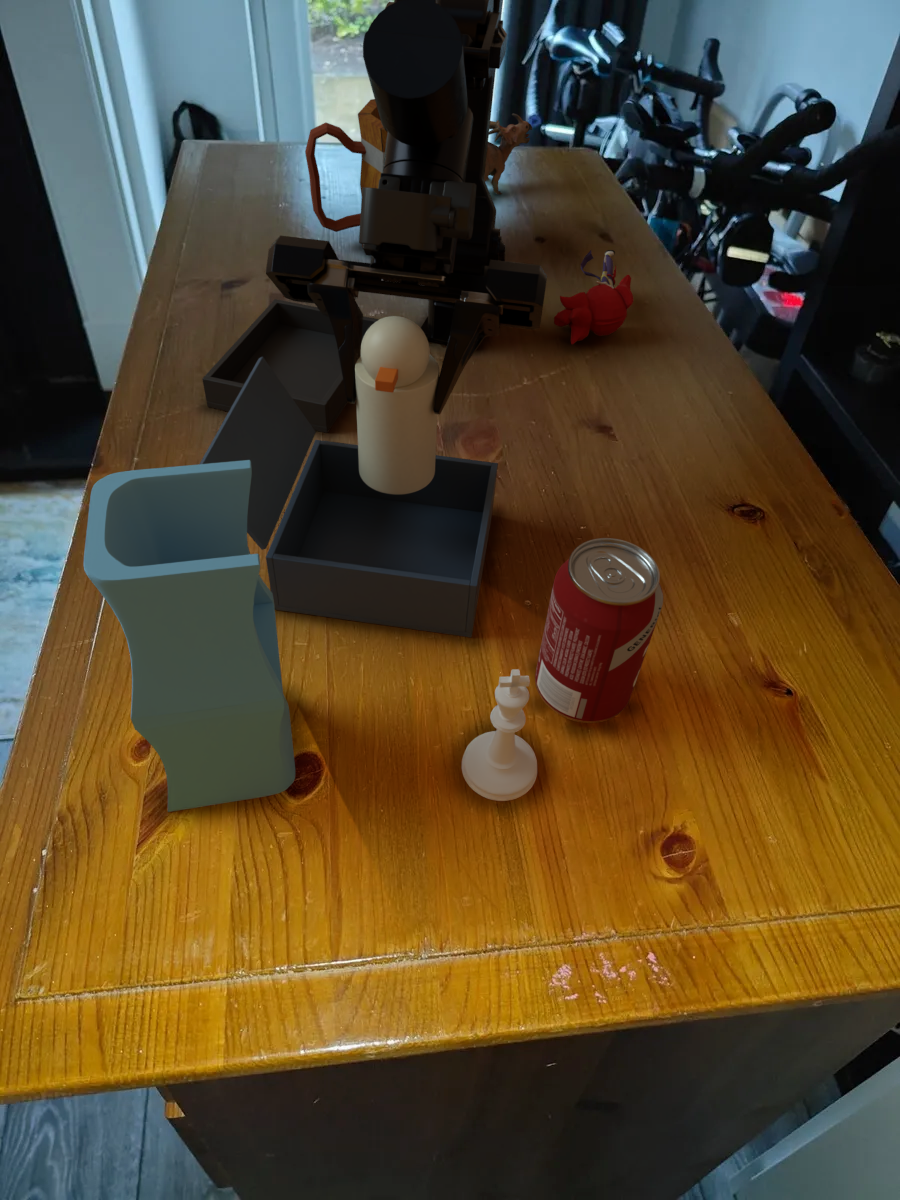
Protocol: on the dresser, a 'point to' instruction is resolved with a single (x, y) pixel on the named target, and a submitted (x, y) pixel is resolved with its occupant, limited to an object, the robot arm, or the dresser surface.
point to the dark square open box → (384, 544)
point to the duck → (396, 407)
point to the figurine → (597, 303)
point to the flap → (264, 446)
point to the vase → (194, 628)
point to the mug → (368, 148)
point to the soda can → (598, 629)
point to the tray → (287, 361)
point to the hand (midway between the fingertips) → (393, 407)
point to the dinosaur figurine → (504, 148)
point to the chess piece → (503, 747)
